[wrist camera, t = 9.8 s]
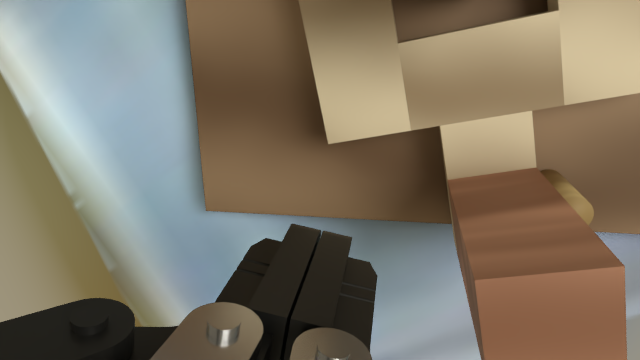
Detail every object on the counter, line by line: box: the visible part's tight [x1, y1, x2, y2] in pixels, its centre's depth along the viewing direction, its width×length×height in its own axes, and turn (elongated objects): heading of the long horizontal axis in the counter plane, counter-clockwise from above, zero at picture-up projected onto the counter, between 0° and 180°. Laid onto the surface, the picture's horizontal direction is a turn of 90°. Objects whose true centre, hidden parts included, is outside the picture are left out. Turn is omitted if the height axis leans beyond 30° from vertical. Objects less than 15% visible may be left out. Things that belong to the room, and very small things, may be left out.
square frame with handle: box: [299, 0, 640, 360], centre depth 13 cm, size 16×11×8 cm
